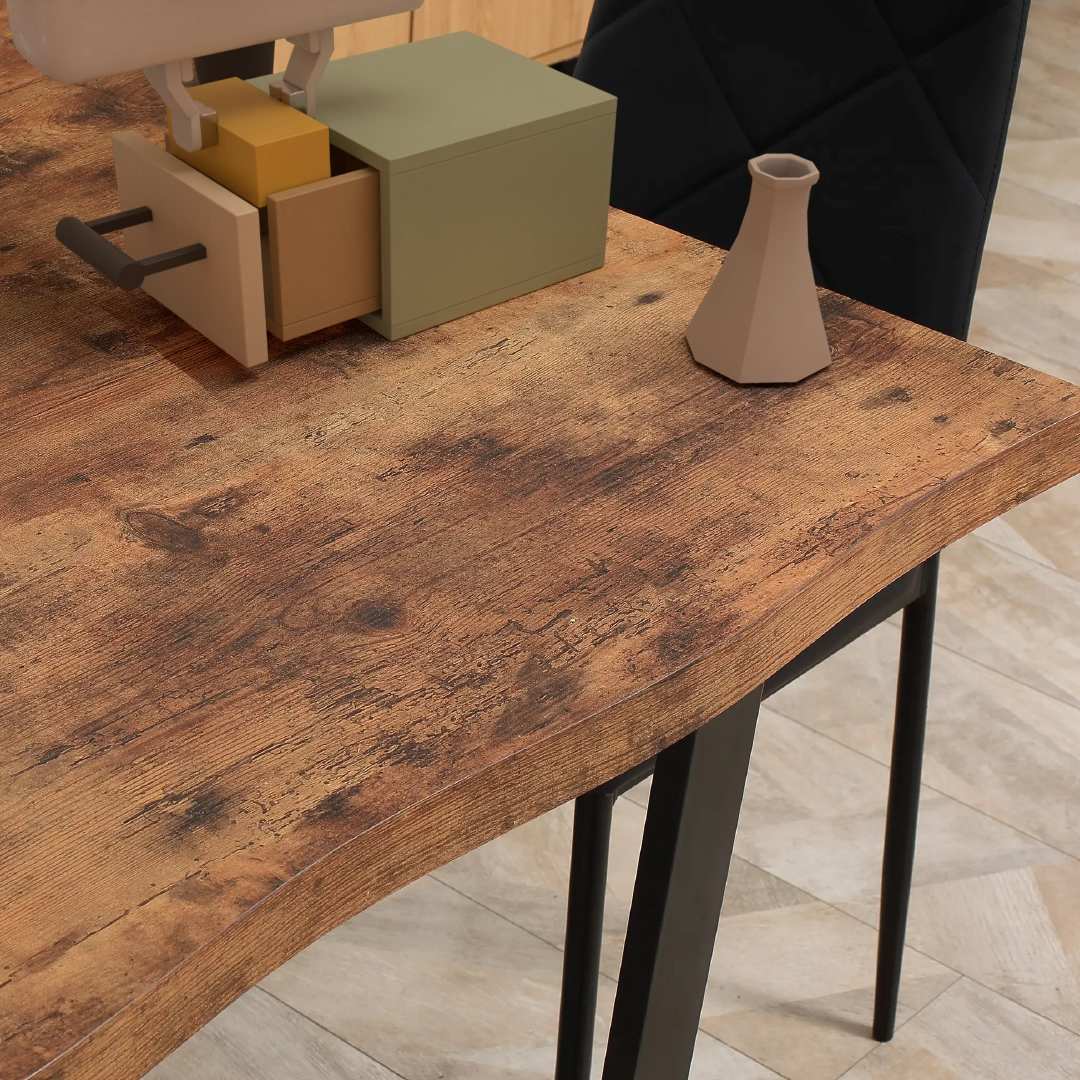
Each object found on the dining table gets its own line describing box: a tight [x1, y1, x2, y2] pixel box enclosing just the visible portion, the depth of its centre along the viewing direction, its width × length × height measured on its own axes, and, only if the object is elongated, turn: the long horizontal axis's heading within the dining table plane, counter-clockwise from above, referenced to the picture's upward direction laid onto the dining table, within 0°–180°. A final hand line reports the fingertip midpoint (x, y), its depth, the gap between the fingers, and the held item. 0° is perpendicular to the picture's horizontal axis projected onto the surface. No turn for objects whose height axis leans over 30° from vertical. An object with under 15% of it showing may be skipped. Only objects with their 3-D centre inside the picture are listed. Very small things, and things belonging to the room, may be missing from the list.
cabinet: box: [244, 29, 618, 342], centre depth 82 cm, size 15×13×10 cm
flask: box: [683, 153, 833, 384], centre depth 75 cm, size 7×7×10 cm
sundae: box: [192, 40, 276, 85], centre depth 89 cm, size 7×7×15 cm
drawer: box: [54, 129, 382, 369], centre depth 76 cm, size 18×11×8 cm, turn 131°
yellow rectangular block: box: [165, 77, 331, 208], centre depth 74 cm, size 8×4×3 cm, turn 41°
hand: (245, 133), depth 73 cm, fingers closed on yellow rectangular block, 4 cm apart
